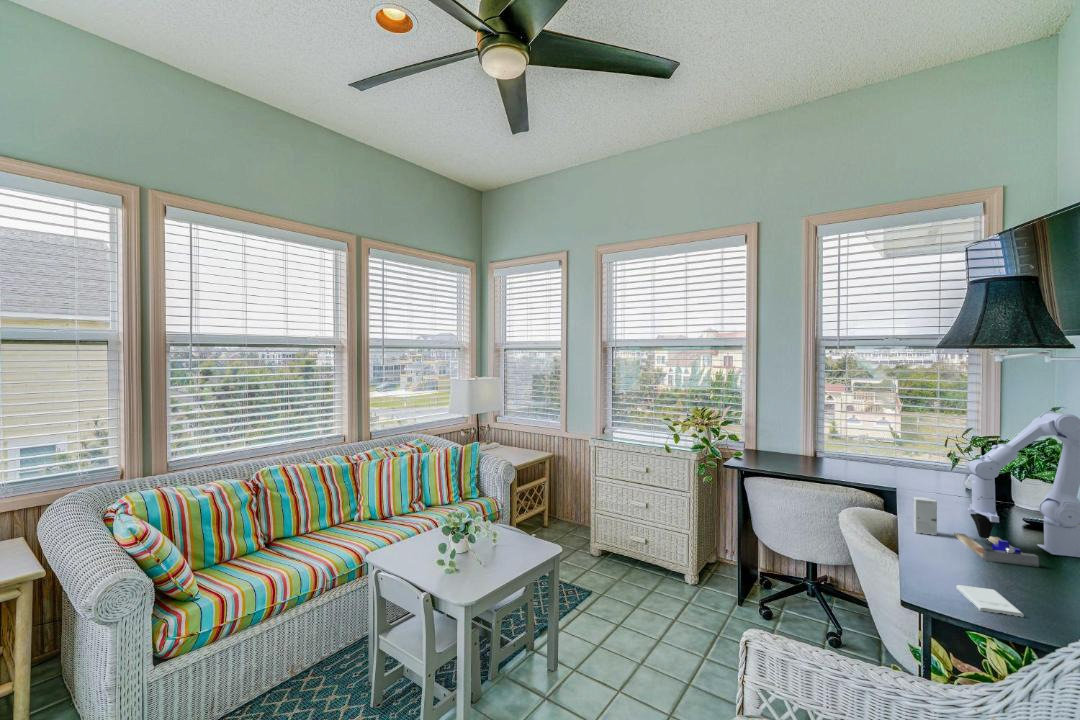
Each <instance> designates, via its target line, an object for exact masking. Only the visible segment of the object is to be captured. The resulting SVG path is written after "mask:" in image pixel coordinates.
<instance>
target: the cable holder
mask: <svg viewBox="0 0 1080 720" xmlns="http://www.w3.org/2000/svg"><path fill="white" fill-rule="evenodd" d="M1009 545H1010V542H1009V541H1007V540H1005V539H1004V540H1003V539H1002V540H998V545H997V544H993V543H992V544H991V546H992V547H991V548H992V549H991V550H999V551H1006V550H1005V548H1006V547H1008V548H1011V547H1010V546H1009ZM1013 549H1015V552H1018V553H1021V552H1022V551H1021V549H1020V548H1017V547H1014V548H1013Z"/></svg>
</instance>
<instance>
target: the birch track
mask: <svg viewBox="0 0 1080 720" xmlns="http://www.w3.org/2000/svg"><path fill="white" fill-rule="evenodd" d="M953 537H955V538H956V539H957V538H958V540H959V541H960V542H961V543H962V544H964V545H965V546H966V545H967V546H966V547H968V548H969V549H971V551H973V552H974V553H976V554H977V555H978V556H979V557H981V558H982V559H983V549H986V548H985V547H983V546H982V545H981V544H979V543H978V542H977V541H975V540H974V539H972V538H971V537H969V536H968V535H967V534H965V533H962V532H961V533H959V532H954V533H953ZM987 539H988V541H989V542H990V543H992V544H997V545H998V540H1003V539H1001V538H1000V537H998V536H991V535H990V537H989V538H986V540H987ZM1009 546H1010V547H1011V548H1015V547H1014V546H1012V545H1011V544H1009ZM1021 553H1023V552H1022V551H1021Z"/></svg>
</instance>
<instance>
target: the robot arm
mask: <svg viewBox="0 0 1080 720" xmlns="http://www.w3.org/2000/svg"><path fill="white" fill-rule="evenodd" d="M1047 436H1048V437H1049V436H1056V438H1057V439H1058V440H1059V441H1060V442H1062V449H1061V453H1060V457H1059V461H1058V465H1057V468H1056V473H1055V477H1054V480H1053V484H1052V488H1051V490H1050V491H1049V492H1047V493H1046V494H1045V496H1044V499H1042V501H1041V502H1040V503H1039V505H1038V510H1039V513H1040V514H1041V515H1042V516H1043V544H1041V543H1040V544H1038V543H1037V546H1038V548H1041V549H1042V550H1044V551H1045V552H1047V553H1049V554H1050V555H1054V556H1055V555H1056V556H1064V557H1065V556H1066V557H1075V558H1080V500H1079V499H1078V494H1079V491H1080V418H1079V417H1078V416H1076V415H1074V414H1069V413H1061V412H1057V411H1045V412H1042V413H1041V414H1040V415H1039V416H1037V417H1035V418H1034V419H1033V420H1032V421H1031V423H1030V424H1028V425H1027V426H1026V427H1025V428H1024V429H1022V431H1019V432H1018V434H1016V435H1015V436H1013V438H1012V439H1010V440H1009V441H1008V442H1007V443H998V444H993V445H992V446H991V447H990V448H991V449H990V450H989V451H987V452H986V453H985V454H984V455H980V456H979V457H978V459H972V460H971V461H970V462H969V465H967V467H966V468H967V471H968V472H969V473H970V474H971V482H970V483H971V503H969V507H967V510H968V511H969V512H973V513H970V517H971V518H972V520H973V522H974V524H975V527H976V531H977V534H978V537H980V538H982V539H987V538H989V537H990V536H991V534H992V531H993V528H994V527H995V525H996V524H997V523H1000V516H998V512H997V510H996V483H995V481H996V480H995V478H998V476H999V475H1000V470H1002V469H1003V468H1005V467H1006V466H1008V465H1009V464H1010V463H1012V462H1013V461H1014V460H1015V459H1017V458H1018V457H1019V451H1021V450H1022V449H1024V448H1026V447H1027V446H1029V445H1030V444H1031V443H1033V442H1035V441H1037V440H1038V439H1039V438H1041V437H1047Z"/></svg>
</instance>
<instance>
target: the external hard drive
mask: <svg viewBox="0 0 1080 720" xmlns="http://www.w3.org/2000/svg"><path fill="white" fill-rule="evenodd" d="M956 590H957V591H959V593H960V594H961V595H963V596H964V598H966V600H968V601H969V602H970V603H971V602H972V603H973V604H974V605H975V606H976V607H977V608H978V609H979V610H978V609H977V608H976V607H975V606H974V605H973V604H972V603H971V604H972V605H973V606H974V607H975V608H976V609H977V610H978V611H980V610H981V611H980V612H983V611H988V612H987V613H990V612H994V613H993V614H997V613H998V614H999V613H1002V614H1001V615H1005V614H1007V616H1011V615H1014V616H1013V617H1018V616H1020V618H1024V615H1025V614H1024V613H1023V612H1021V610H1019V609H1018V608H1017V607H1016V606H1015V605H1013V604H1012V603H1011V602H1010V601H1009V600H1007V599H1006V597H1004V596H1003V595H1001V594H1000V593H999V592H998V591H997V590H995V589H992V588H985V587H977V586H970V585H964V584H963V585H962V584H957V585H956Z"/></svg>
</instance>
